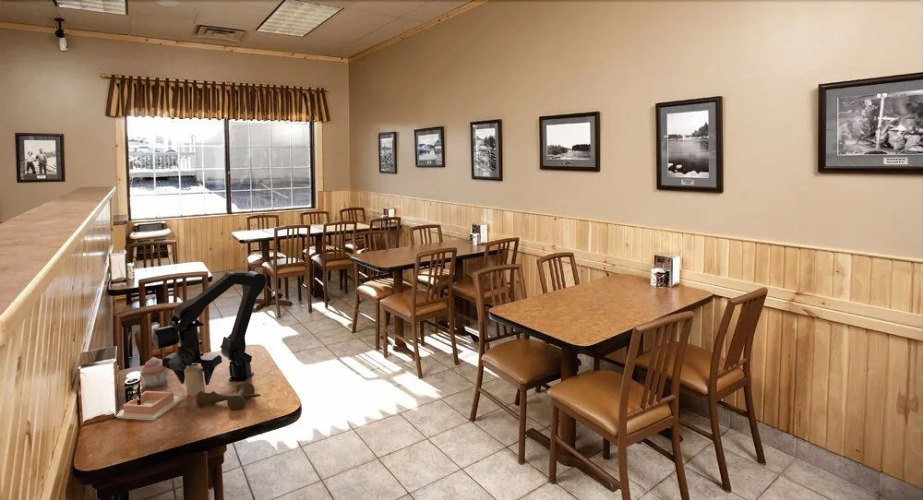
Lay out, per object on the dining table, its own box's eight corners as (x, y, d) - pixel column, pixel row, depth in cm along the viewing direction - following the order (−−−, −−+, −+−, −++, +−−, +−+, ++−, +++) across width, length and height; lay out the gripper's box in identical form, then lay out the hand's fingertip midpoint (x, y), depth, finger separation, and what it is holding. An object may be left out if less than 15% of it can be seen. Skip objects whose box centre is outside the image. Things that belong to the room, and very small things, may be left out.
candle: (197, 396, 178) (194, 368, 176) (183, 395, 179) (179, 367, 177) (208, 389, 184) (205, 362, 182) (194, 388, 185) (191, 361, 183)
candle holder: (183, 399, 177) (182, 389, 176) (153, 420, 163) (152, 410, 163) (146, 396, 179) (144, 387, 178) (113, 417, 165) (112, 408, 165)
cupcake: (161, 375, 196) (158, 350, 194) (177, 380, 191) (173, 354, 189) (136, 385, 188) (132, 359, 186) (151, 391, 183) (147, 364, 181)
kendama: (206, 400, 177) (266, 396, 178) (193, 415, 168) (256, 411, 168) (203, 383, 176) (264, 379, 176) (190, 398, 166) (254, 394, 167)
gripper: (147, 348, 171) (153, 393, 175) (199, 351, 169) (205, 396, 172) (170, 336, 182) (176, 378, 185) (220, 338, 179) (225, 381, 182)
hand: (195, 384), depth 181 cm, fingers open, 9 cm apart
